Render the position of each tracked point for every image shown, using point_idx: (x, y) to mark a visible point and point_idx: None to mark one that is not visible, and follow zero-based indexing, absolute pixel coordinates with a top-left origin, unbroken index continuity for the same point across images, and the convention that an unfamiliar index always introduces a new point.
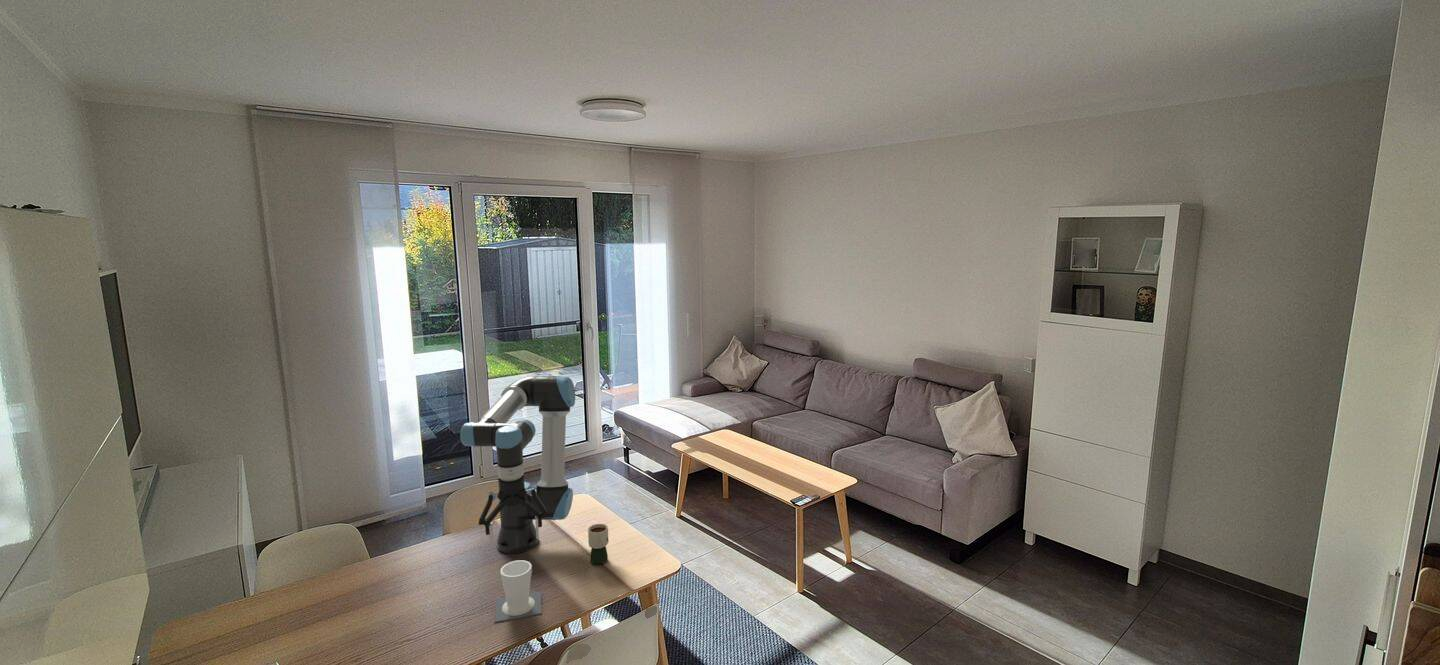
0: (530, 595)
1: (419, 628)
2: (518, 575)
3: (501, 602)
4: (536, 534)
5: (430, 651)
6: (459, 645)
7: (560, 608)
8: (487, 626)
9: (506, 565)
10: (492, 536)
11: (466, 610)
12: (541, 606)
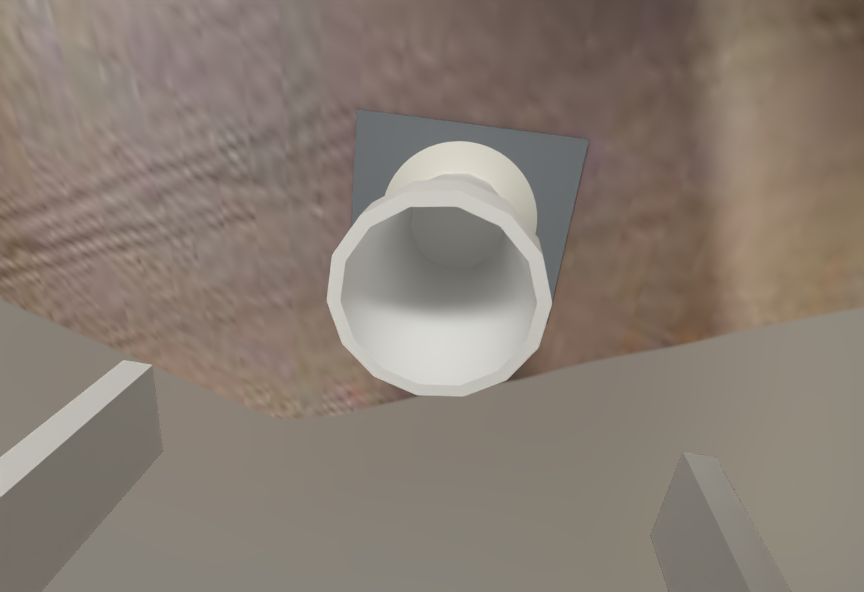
0: (529, 158)
1: (48, 187)
2: (440, 392)
3: (382, 156)
4: (669, 584)
5: (129, 346)
6: (224, 359)
7: (634, 315)
8: (320, 297)
9: (373, 224)
10: (85, 539)
11: (224, 138)
12: (557, 275)
